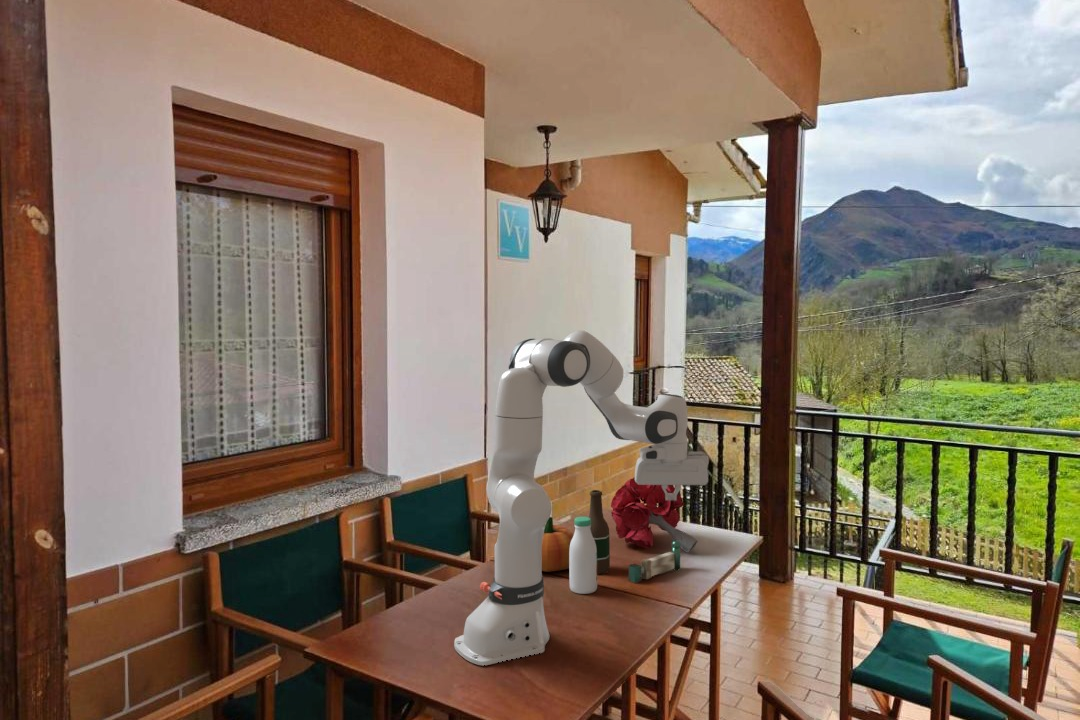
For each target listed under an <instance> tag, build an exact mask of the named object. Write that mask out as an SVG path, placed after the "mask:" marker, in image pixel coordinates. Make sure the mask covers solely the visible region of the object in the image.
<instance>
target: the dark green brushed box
mask: <svg viewBox="0 0 1080 720" xmlns="http://www.w3.org/2000/svg"><path fill="white" fill-rule="evenodd" d="M642 573H644V567H641V565H639V564H638V563H632V564H629V565H628V581H629V580H630V581H629V582H631V581H632V582H631V583H633V582H634V583H633V584H637V583H640V582H642V580H641V577H642ZM639 581H640V582H639ZM636 582H637V583H636Z"/></svg>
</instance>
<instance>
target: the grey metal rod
mask: <svg viewBox="0 0 1080 720" xmlns="http://www.w3.org/2000/svg"><path fill="white" fill-rule="evenodd" d="M671 570H673V571H675V570H674V569H671ZM671 570H668V571H670V572H672V571H671ZM668 571H665V572H667V573H669V572H668ZM665 572H663V574H666V573H665ZM660 575H662V574H661V573H660ZM641 579H643V580H645V579H644V578H642V576H641Z"/></svg>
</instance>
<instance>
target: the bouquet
mask: <svg viewBox="0 0 1080 720" xmlns="http://www.w3.org/2000/svg"><path fill="white" fill-rule="evenodd" d="M665 489H666V488H665ZM675 489H676V488H675V485H667V489H666V491H667V493H674V491H675ZM659 504H662V505H660V506H658V505H659ZM683 506H685V503H684V502H683V497H682V496H680V495H679V493H678V494H677V500H676V501H666V500H665V492H664V491H663V489H662V487H661V485H638V484H637V483H636V482H635V476H634V477H632V478H630V479H629V480H627V481H626V482H625V483H624V484H623V485H622V486H620V487H619V488H618V489H617V490H616V492H615V494H614V496H613V497H612V500H611V502H610V508H612V510H611V512H610V513H611V517H612V520H613V521H614V523H615V531H616V534H617V537H618V539H623V538H624V540H625V543H626V544H629V543H631V544H632V545H636V546H638V547H641V548H642V547H643V548H644V547H645V548H644V549H646V548H648V549H649V550H650V549H651V548H652V547H653V546H654V534H653V531H652V526H651V525H654V526H657V527H658V528H659V529H660V530H662V531H665V532H667V533H668V534H669V536H671V538H673V541H674V540H678V541H679V542H680V544H681V547H680V549H681V550H683V551H685V552H686V553H687V554H690V553H691V552H692V550H694V548H695V546H696V545H697V543H698V540H697V539H696V538H695V537H694V536H693V535H690V534H688V533H687V532H684V531H682V530H680V529H678V528H677V527H678V523H679V521H680V514H679V512H678V510H677V509H678V508H682V507H683ZM689 552H690V553H689Z"/></svg>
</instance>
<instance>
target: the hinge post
mask: <svg viewBox="0 0 1080 720" xmlns="http://www.w3.org/2000/svg"><path fill="white" fill-rule="evenodd" d="M671 552H672V553H674V569H675V570H674V571H679V570H678V569H681V544H680V542H679V541H678V540H674V539H673V541H671Z"/></svg>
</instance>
